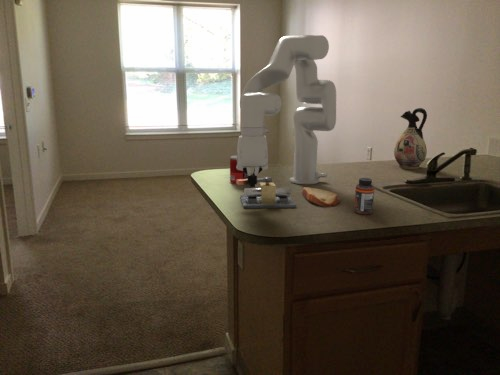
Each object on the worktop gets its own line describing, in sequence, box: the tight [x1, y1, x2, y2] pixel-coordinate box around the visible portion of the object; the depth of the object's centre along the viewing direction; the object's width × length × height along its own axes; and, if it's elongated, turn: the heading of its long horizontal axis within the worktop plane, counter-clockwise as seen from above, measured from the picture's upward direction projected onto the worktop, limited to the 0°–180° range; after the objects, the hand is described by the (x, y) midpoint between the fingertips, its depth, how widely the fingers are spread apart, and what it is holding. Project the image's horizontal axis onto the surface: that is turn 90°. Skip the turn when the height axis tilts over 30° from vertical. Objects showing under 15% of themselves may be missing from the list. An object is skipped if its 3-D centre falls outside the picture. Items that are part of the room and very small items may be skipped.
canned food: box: [229, 154, 248, 185], centre depth 186 cm, size 8×8×11 cm
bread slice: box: [301, 186, 340, 208], centre depth 163 cm, size 18×18×4 cm
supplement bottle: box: [353, 177, 375, 215], centre depth 146 cm, size 6×6×11 cm
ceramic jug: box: [393, 107, 428, 170], centre depth 221 cm, size 17×15×30 cm
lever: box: [235, 176, 273, 186], centre depth 153 cm, size 13×3×1 cm, turn 116°
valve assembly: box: [239, 182, 297, 209], centre depth 157 cm, size 18×14×8 cm
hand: (252, 186), depth 150 cm, fingers closed
